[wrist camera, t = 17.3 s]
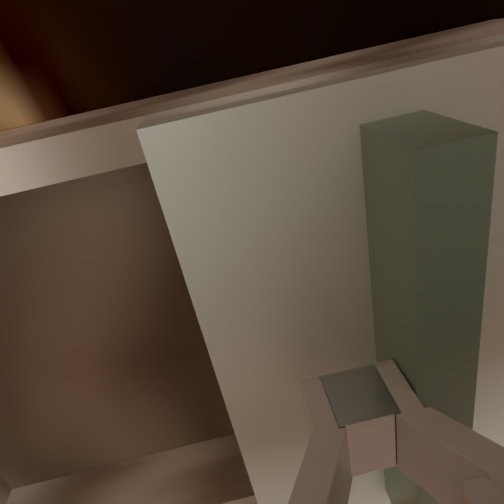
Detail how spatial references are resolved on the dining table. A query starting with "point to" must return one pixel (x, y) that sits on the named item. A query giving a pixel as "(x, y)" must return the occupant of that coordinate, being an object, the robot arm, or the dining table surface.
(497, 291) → the sliding lid panel
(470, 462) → the robot arm
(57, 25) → the dining table surface
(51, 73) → the dining table surface
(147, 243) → the sliding lid box
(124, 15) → the dining table surface
